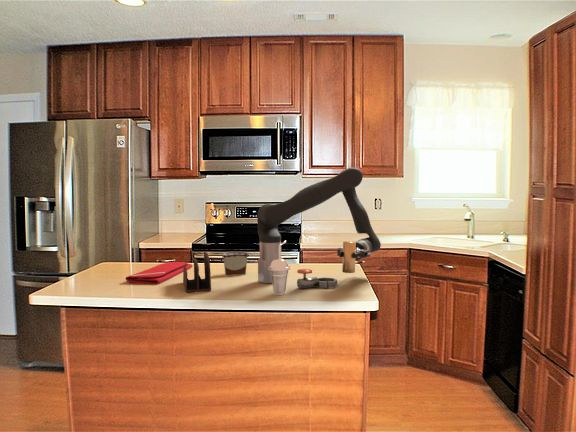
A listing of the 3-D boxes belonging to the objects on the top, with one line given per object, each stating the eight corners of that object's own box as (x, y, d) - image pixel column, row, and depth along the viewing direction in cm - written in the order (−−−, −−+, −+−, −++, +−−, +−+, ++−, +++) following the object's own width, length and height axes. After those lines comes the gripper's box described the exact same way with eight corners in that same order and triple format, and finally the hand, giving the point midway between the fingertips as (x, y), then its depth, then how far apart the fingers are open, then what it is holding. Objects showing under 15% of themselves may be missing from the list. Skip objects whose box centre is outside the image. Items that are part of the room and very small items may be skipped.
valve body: (303, 291, 197) (303, 272, 196) (292, 286, 205) (293, 269, 204) (340, 286, 204) (341, 269, 204) (329, 282, 213) (329, 265, 212)
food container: (245, 271, 237) (245, 250, 236) (248, 274, 231) (248, 252, 230) (219, 273, 233) (219, 252, 232) (222, 275, 227) (222, 254, 226)
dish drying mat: (193, 267, 249) (193, 260, 249) (159, 285, 209) (159, 276, 209) (163, 267, 252) (163, 259, 251) (124, 284, 211) (124, 275, 211)
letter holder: (206, 281, 216) (206, 249, 214) (211, 291, 196) (210, 256, 195) (182, 282, 213) (182, 250, 212) (185, 293, 194) (185, 257, 193)
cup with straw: (264, 293, 194) (263, 241, 192) (283, 289, 199) (283, 240, 197) (276, 297, 187) (276, 244, 185) (295, 294, 192) (295, 242, 190)
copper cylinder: (346, 273, 196) (347, 243, 195) (339, 271, 200) (340, 241, 199) (357, 272, 198) (358, 242, 197) (350, 270, 202) (351, 240, 202)
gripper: (342, 239, 214) (330, 244, 199) (375, 242, 208) (365, 247, 193) (342, 257, 215) (329, 263, 199) (375, 259, 209) (364, 266, 194)
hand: (347, 255), depth 196 cm, fingers closed on copper cylinder, 5 cm apart
